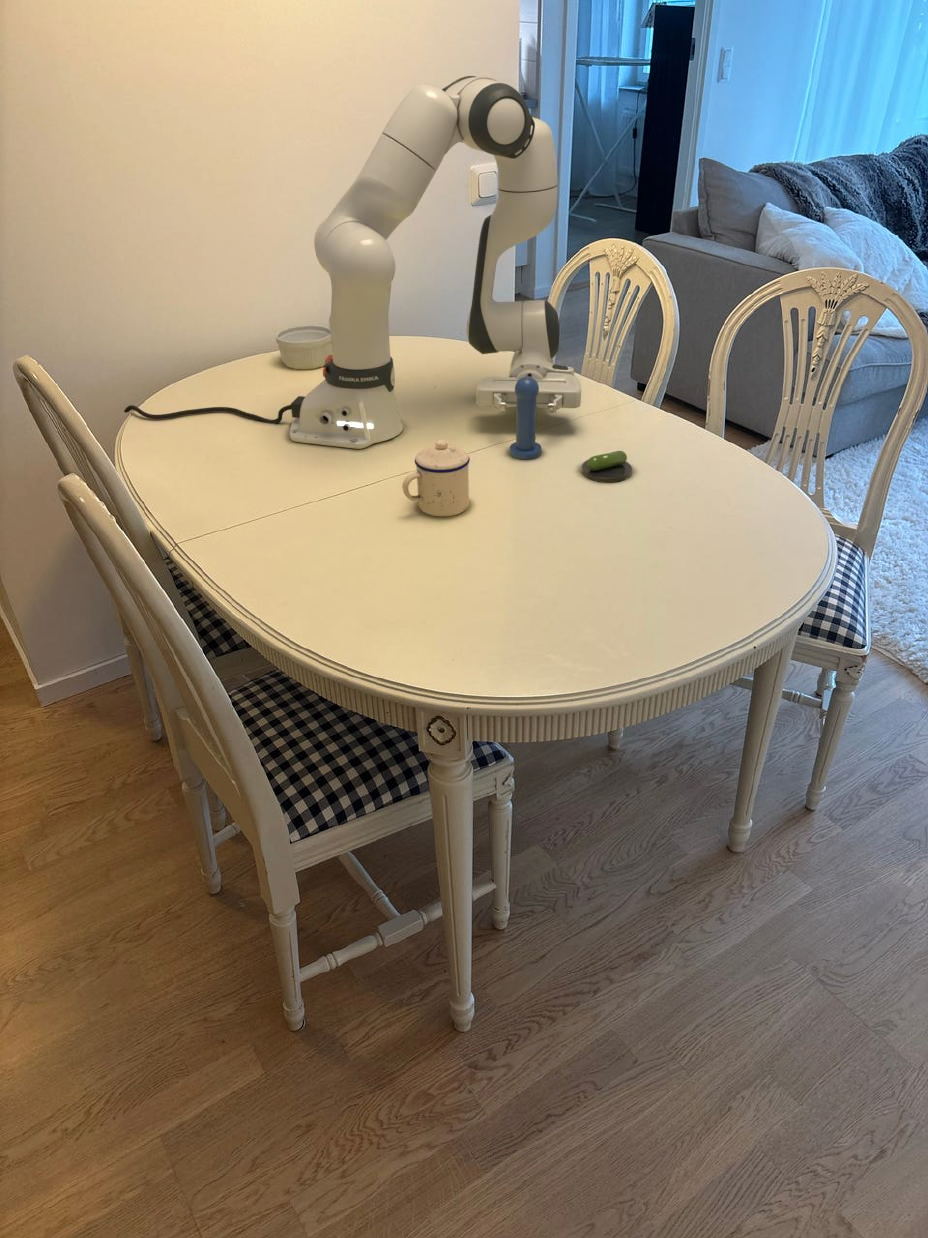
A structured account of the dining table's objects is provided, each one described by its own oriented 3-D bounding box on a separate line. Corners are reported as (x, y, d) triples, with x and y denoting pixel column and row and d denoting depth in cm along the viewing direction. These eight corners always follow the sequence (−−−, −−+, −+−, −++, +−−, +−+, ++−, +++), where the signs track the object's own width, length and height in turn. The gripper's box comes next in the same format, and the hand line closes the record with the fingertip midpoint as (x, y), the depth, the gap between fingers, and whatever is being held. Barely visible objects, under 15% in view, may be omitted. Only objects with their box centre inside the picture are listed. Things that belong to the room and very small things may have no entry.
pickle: (597, 486, 160) (599, 468, 158) (572, 466, 167) (573, 449, 165) (641, 476, 163) (643, 458, 161) (614, 457, 170) (615, 440, 168)
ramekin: (271, 370, 212) (267, 340, 208) (289, 352, 223) (286, 323, 219) (326, 372, 210) (323, 342, 206) (342, 354, 221) (339, 325, 217)
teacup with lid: (453, 488, 160) (451, 426, 154) (480, 509, 154) (479, 444, 147) (392, 506, 156) (388, 442, 149) (418, 527, 149) (414, 462, 142)
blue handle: (508, 459, 170) (509, 382, 162) (510, 445, 175) (511, 371, 167) (540, 460, 170) (543, 383, 161) (541, 446, 174) (544, 371, 166)
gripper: (478, 365, 181) (471, 390, 170) (581, 367, 179) (581, 393, 168) (478, 396, 185) (471, 422, 174) (579, 398, 183) (580, 425, 172)
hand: (526, 408), depth 171 cm, fingers open, 8 cm apart
